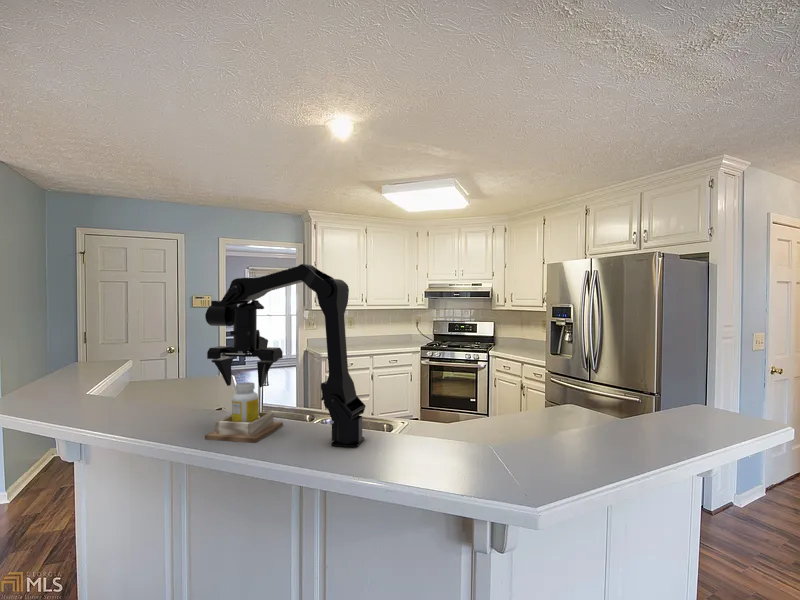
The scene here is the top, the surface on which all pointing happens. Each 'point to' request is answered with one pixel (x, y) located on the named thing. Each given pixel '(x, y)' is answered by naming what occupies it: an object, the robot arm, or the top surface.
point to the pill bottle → (245, 403)
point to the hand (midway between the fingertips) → (244, 386)
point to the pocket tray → (244, 429)
